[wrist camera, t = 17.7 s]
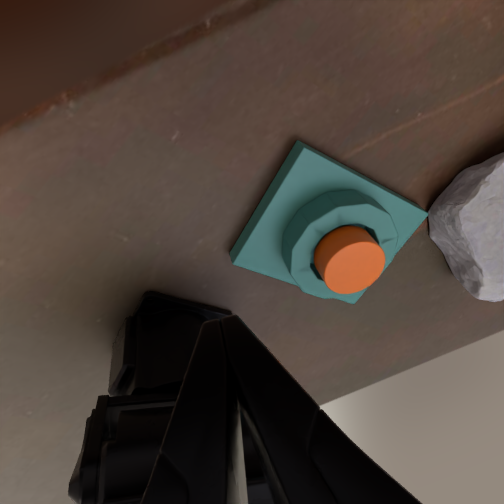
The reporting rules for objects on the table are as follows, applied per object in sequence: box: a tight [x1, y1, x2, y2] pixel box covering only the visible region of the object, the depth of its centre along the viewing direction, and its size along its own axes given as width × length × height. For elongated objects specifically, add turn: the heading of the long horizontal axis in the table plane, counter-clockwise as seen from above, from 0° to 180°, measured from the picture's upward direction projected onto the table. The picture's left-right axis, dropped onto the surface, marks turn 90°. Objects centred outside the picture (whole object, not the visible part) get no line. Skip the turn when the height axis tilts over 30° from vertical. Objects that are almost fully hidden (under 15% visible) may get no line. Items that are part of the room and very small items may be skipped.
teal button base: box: [230, 140, 429, 304], centre depth 23 cm, size 10×8×3 cm
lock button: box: [314, 225, 385, 294], centre depth 22 cm, size 4×4×2 cm
